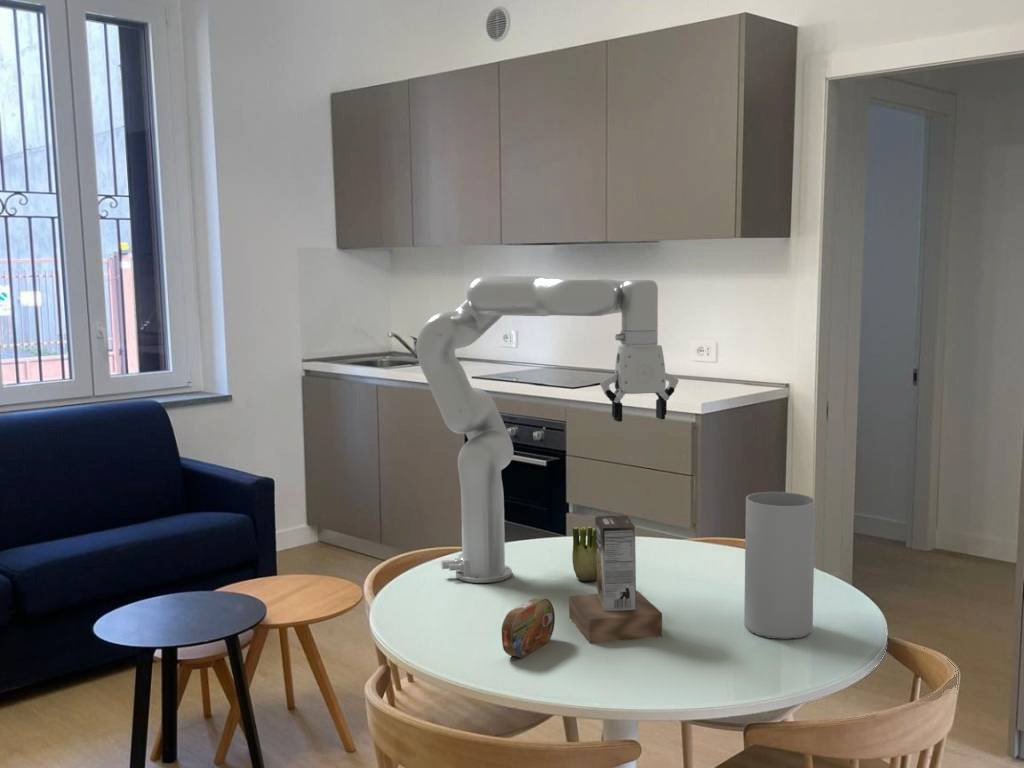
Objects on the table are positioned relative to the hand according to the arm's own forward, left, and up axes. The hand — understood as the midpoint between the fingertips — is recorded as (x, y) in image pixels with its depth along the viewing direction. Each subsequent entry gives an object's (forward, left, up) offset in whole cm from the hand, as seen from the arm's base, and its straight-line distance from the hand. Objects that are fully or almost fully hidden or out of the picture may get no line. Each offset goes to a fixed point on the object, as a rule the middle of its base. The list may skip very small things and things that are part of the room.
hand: (639, 419), depth 215 cm
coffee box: (-14, -22, -32) cm, 41 cm away
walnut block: (-14, -22, -37) cm, 45 cm away
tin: (-33, -28, -37) cm, 57 cm away
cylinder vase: (+15, -32, -36) cm, 51 cm away
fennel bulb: (-9, +8, -36) cm, 38 cm away
